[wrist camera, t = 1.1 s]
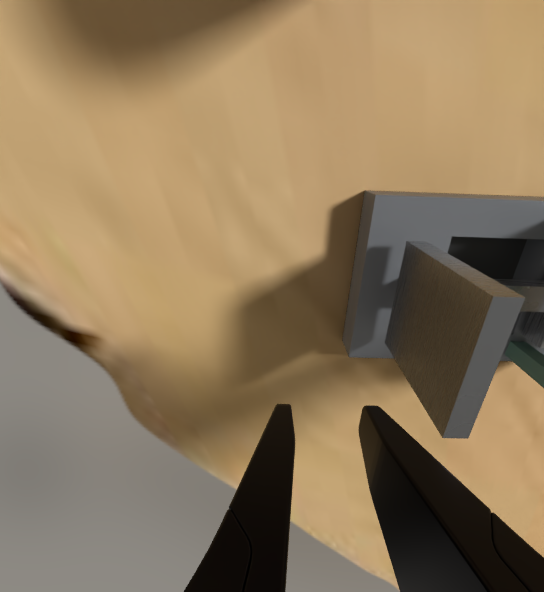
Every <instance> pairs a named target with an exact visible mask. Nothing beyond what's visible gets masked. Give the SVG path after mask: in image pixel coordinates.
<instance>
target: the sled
mask: <svg viewBox="0 0 544 592" xmlns="http://www.w3.org/2000/svg"><path fill="white" fill-rule="evenodd" d="M520 311H524V312H530V314H529V316H528V318H527V321H526V323H525V325H524V328H523V330H522V333H521V335H522V336H524V337H525V338H526V339H528V340H529V341H531V342H532V343H533V344H535V345H536V346H537V347H539V348H544V280H514V279H492V278H490V277H488V276H486V275H485V274H483V273H481V272H479V271H478V270H476V269H474V268H472V267H471V266H469V265H467V264H465V263H464V262H462V261H460V260H458V259H456V258H455V257H453V256H451V255H449V254H448V253H446V252H444V251H442V250H441V249H439V248H437V247H435V246H434V245H432V244H430V243H428V242H427V241H406V246H405V251H404V255H403V260H402V264H401V269H400V274H399V278H398V283H397V288H396V292H395V297H394V301H393V306H392V311H391V315H390V320H389V325H388V329H387V334H386V338H385V344H386V346H387V347H388V349H389V351H390V352H391V354H392V356H393V357H394V359H395V360H396V362H397V364H398V365H399V367H400V369H401V370H402V372H403V374H404V375H405V377H406V379H407V380H408V382H409V383H410V385H411V387H412V388H413V390H414V392H415V393H416V395H417V397H418V398H419V400H420V402H421V403H422V405H423V407H424V408H425V410H426V411H427V413H428V415H429V416H430V418H431V420H432V421H433V423H434V425H435V426H436V428H437V430H438V431H439V433H440V434H441V436H442V438H469V435H470V433H471V430H472V428H473V425H474V423H475V420H476V418H477V415H478V413H479V410H480V408H481V406H482V403H483V401H484V398H485V396H486V393H487V391H488V388H489V386H490V383H491V381H492V378H493V376H494V374H495V371H496V369H497V366H498V364H499V361H500V359H501V356H502V354H503V351H504V349H505V346H506V344H507V342H508V339H509V337H510V334H511V332H512V329H513V327H514V324H515V322H516V319H517V317H518V314H519V312H520Z"/></svg>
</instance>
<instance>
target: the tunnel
mask: <svg viewBox="0 0 544 592" xmlns="http://www.w3.org/2000/svg"><path fill="white" fill-rule="evenodd" d="M505 355H506V356H507V357H508V358H509V359H510V360H512V361H513V362H514V363H515V364H516V365H517V366H519V367H520V368H521V369H522V370H523V371H524V372H526V373H527V374H528V375H529V376H530V377H531V378H533V379H534V380H535V381H536V382H537V383H538V384H540V385H541V386H542V387H543V388H544V355H543V354H542V353H540V352H539V351H538V350H536V349H535V348H534V347H532V346H531V345H529V344H528V343H527V342H516V341H510V343H509V345H508V348H507V350H506V353H505Z"/></svg>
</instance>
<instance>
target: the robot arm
mask: <svg viewBox="0 0 544 592" xmlns="http://www.w3.org/2000/svg"><path fill="white" fill-rule="evenodd" d="M359 437H360V443H361V448H362V453H363V458H364V463H365V469H366V474H367V479H368V484H369V489H370V493H371V496H372V500H373V503H374V507H375V510H376V513H377V516H378V520H379V523H380V526H381V530H382V533H383V536H384V540H385V543H386V546H387V549H388V553H389V556H390V559H391V563H392V566H393V569H394V573H395V576H396V579H397V582H398V586H399V589H400V592H544V557H542V556H541V555H540V554H539V553H538V552H537V551H535V550H534V549H533V548H532V547H531V546H530V545H529V544H528V543H526V542H525V541H524V540H523V539H522V538H521V537H520V536H519V535H518V534H516V533H515V532H514V531H513V530H512V529H511V528H510V527H509V526H508V525H507V524H505V523H504V522H503V521H502V520H501V519H500V518H499V517H498V516H497V515H496V514H495V513H491V510H490V509H489V508H488V507H487V506H486V505H485V504H484V503H483V502H482V501H480V500H479V499H478V498H477V497H476V496H475V495H474V494H473V493H472V492H471V491H470V490H469V489H468V488H466V487H465V486H464V485H463V484H462V483H461V482H460V481H459V480H458V479H457V478H456V477H455V476H454V475H452V474H451V473H450V472H449V471H448V470H447V469H446V468H445V467H444V466H443V465H442V464H441V463H440V462H438V461H437V460H436V459H435V458H434V457H433V456H432V455H431V454H430V453H429V452H428V451H427V450H425V449H424V448H423V447H422V446H421V445H420V444H419V443H418V442H417V441H416V440H415V439H414V438H413V437H411V436H410V435H409V434H408V433H407V432H406V431H405V430H404V429H403V428H402V427H401V426H400V425H399V424H397V423H396V422H395V421H394V420H393V419H392V418H391V417H390V416H389V415H388V414H387V413H386V412H385V411H383V410H382V409H381V408H380V407H378V406H364V407H363V409H362V414H361V419H360V424H359ZM294 455H295V433H294V425H293V417H292V409H291V405H290V404H277V405H276V406H275V408H274V410H273V412H272V415H271V417H270V419H269V421H268V423H267V425H266V428H265V430H264V432H263V434H262V436H261V439H260V441H259V443H258V445H257V447H256V449H255V452H254V454H253V456H252V458H251V460H250V462H249V465H248V467H247V469H246V471H245V473H244V476H243V478H242V480H241V482H240V484H239V486H238V489H237V491H236V493H235V495H234V497H233V500H232V502H231V504H230V506H229V510H227V512H226V514H225V516H224V519H223V521H222V523H221V525H220V527H219V529H218V531H217V533H216V535H215V537H214V539H213V541H212V543H211V545H210V547H209V549H208V551H207V553H206V554H205V556H204V558H203V560H202V561H201V563H200V565H199V567H198V568H197V570H196V572H195V574H194V576H193V577H192V579H191V580H190V582H189V584H188V585H187V587H186V589H185V590H184V592H285V588H286V573H287V558H288V544H289V529H290V514H291V500H292V485H293V470H294Z"/></svg>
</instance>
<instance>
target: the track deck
mask: <svg viewBox="0 0 544 592" xmlns="http://www.w3.org/2000/svg"><path fill="white" fill-rule="evenodd" d="M406 241H427V242H428V243H430V244H432V245H434V246H435V247H437V248H439V249H441V250H442V251H444V252H446V253H448V254H449V255H451V256H453V257H455V258H456V259H458V260H460V261H462V262H464V263H465V264H467V265H469V266H471V267H472V268H474V269H476V270H478V271H479V272H481V273H483V274H485V275H486V276H488V277H490V278H492V279H514V280H544V197H530V196H502V195H475V194H448V193H420V192H393V191H366V190H365V193H364V200H363V206H362V213H361V220H360V226H359V233H358V240H357V246H356V253H355V259H354V266H353V273H352V279H351V286H350V293H349V299H348V306H347V313H346V319H345V326H344V333H343V339H342V341H343V343H344V346H345V348H346V351H347V354H348V356H349V357H359V358H394V357H393V356H392V354H391V352H390V351H389V349H388V347H387V346H386V344H385V338H386V334H387V329H388V325H389V320H390V315H391V311H392V306H393V301H394V297H395V292H396V288H397V283H398V278H399V274H400V269H401V264H402V260H403V255H404V251H405V246H406ZM529 314H530V312H524V311H520V312H519V314H518V317H517V319H516V322H515V324H514V327H513V329H512V332H511V334H510V337H509V339H508V342H507V344H506V346H505V349H504V351H503V354H502V356H501V359H500V361H512V360H510V359H509V358H508V357H507V356H506V355H505V353H506V350H507V348H508V345H509V343H510V341H516V342H527V343H528V344H529V345H531V346H532V347H534V348H535V349H536V350H538V351H539V352H540V353H542V354H543V355H544V348H539V347H537V346H536V345H535V344H533V343H532V342H531V341H529V340H528V339H526V338H525V337H524V336H522V335H521V333H522V330H523V328H524V325H525V323H526V321H527V318H528V316H529Z"/></svg>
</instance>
